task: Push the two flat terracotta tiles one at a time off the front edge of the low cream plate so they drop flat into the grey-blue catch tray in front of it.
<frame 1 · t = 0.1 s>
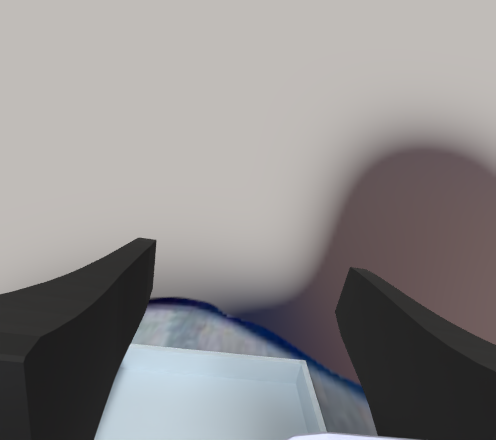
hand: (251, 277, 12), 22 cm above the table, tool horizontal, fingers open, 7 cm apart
catch tray: (203, 423, 30), on the table
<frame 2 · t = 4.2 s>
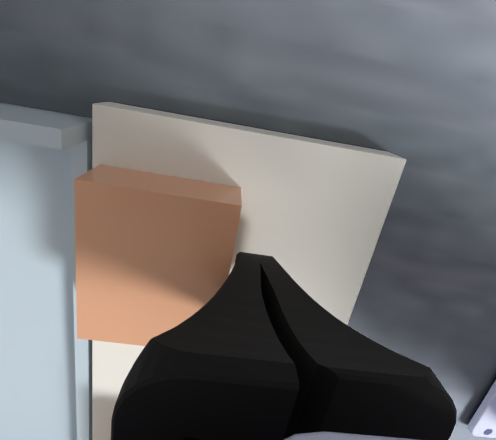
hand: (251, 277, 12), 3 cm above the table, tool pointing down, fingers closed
cream plate: (215, 347, 17), on the table
terracotta tile a: (164, 249, 13), point 1 cm above the table, touching cream plate, gripper
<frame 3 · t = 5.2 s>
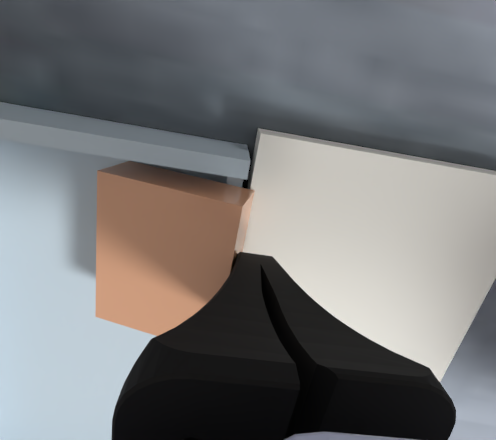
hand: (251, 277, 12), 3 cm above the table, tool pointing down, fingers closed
cream plate: (321, 358, 17), on the table
terracotta tile a: (182, 245, 13), point 1 cm above the table, tilted 14°, touching gripper
catch tray: (92, 333, 16), on the table
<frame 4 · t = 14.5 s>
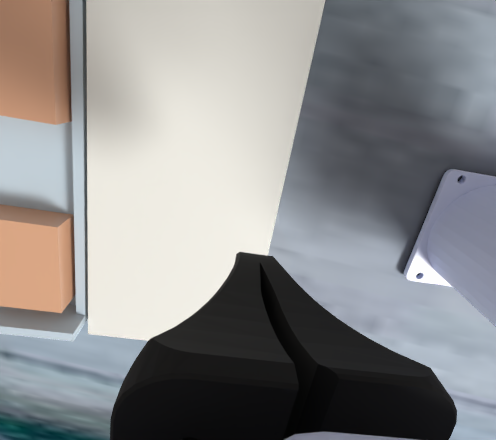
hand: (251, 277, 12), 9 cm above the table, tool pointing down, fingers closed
cream plate: (188, 188, 20), on the table
terracotta tile a: (22, 52, 17), resting on catch tray
terracotta tile b: (34, 251, 21), resting on catch tray
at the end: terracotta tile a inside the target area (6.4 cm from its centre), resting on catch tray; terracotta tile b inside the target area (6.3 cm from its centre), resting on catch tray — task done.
